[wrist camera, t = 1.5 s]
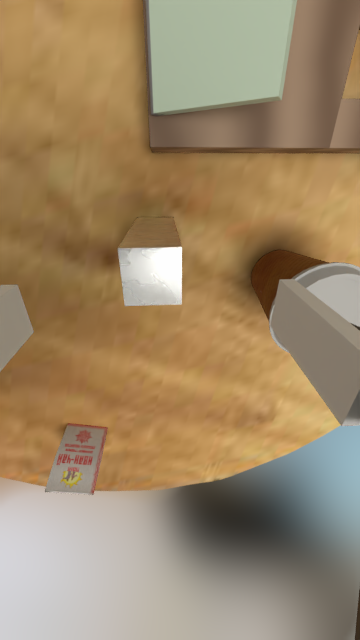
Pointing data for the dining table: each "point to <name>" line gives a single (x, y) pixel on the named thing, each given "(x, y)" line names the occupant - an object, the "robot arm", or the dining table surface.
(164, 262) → the steel pin
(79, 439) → the tea bag
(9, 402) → the dining table surface
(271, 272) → the disposable coffee cup
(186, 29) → the plate
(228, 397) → the dining table surface
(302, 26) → the walnut block
